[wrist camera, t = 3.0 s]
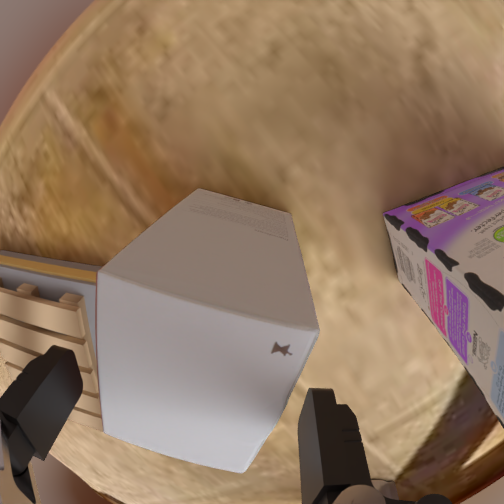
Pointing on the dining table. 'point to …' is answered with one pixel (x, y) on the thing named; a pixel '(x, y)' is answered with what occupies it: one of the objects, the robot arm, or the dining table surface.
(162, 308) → the small box
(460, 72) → the dining table surface
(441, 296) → the candy box
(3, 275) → the rack
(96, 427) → the pallet
